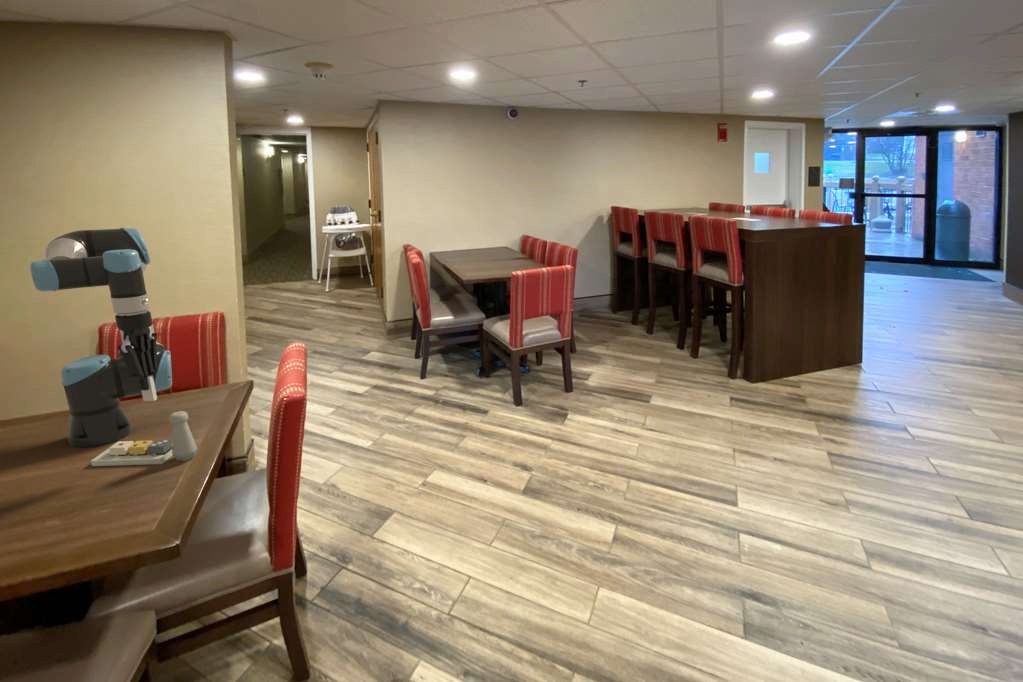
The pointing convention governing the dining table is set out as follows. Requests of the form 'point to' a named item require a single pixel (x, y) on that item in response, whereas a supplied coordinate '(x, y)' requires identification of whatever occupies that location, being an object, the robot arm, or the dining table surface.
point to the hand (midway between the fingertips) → (150, 399)
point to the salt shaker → (182, 437)
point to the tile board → (129, 459)
